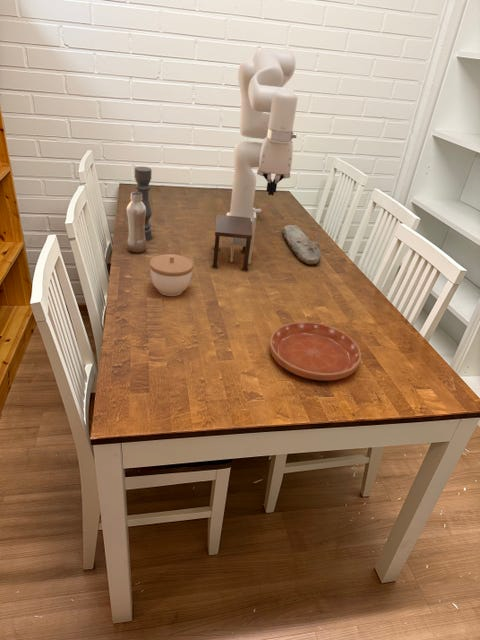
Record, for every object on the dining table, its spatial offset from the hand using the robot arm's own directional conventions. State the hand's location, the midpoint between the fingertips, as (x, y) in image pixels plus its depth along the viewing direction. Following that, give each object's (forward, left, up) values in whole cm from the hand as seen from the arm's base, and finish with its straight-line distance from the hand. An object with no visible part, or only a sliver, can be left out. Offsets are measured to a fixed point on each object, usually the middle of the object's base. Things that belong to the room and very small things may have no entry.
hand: (270, 194), depth 156 cm
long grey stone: (-23, -5, -25) cm, 34 cm away
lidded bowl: (+39, +6, -25) cm, 47 cm away
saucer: (+23, +52, -25) cm, 62 cm away
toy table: (+9, -6, -24) cm, 27 cm away
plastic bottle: (+36, -24, -25) cm, 50 cm away
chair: (+6, -4, -24) cm, 25 cm away
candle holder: (+29, -34, -25) cm, 51 cm away
